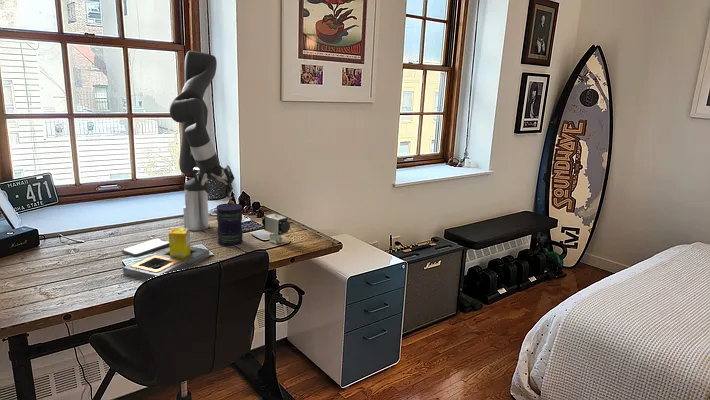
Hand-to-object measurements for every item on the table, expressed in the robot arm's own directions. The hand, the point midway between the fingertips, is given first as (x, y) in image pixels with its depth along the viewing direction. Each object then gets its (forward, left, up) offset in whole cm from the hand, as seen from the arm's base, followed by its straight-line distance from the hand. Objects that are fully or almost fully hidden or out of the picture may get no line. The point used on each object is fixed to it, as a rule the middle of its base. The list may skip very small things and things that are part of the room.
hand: (219, 191), depth 175 cm
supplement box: (-9, -12, -24) cm, 28 cm away
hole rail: (-9, -17, -24) cm, 31 cm away
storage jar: (-4, +11, -24) cm, 27 cm away
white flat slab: (-27, -9, -24) cm, 38 cm away
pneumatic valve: (+12, +20, -24) cm, 34 cm away
